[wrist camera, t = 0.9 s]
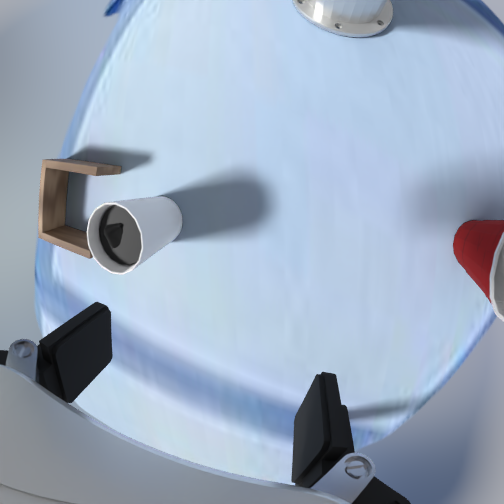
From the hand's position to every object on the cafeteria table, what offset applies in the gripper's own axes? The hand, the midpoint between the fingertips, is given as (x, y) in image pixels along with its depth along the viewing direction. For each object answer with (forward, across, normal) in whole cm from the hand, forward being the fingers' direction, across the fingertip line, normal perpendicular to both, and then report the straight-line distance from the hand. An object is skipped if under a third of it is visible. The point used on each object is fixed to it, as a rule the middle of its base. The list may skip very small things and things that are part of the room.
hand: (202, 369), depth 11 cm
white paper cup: (+21, +12, -1) cm, 25 cm away
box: (+21, +25, -1) cm, 33 cm away
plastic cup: (+21, -26, -8) cm, 34 cm away
